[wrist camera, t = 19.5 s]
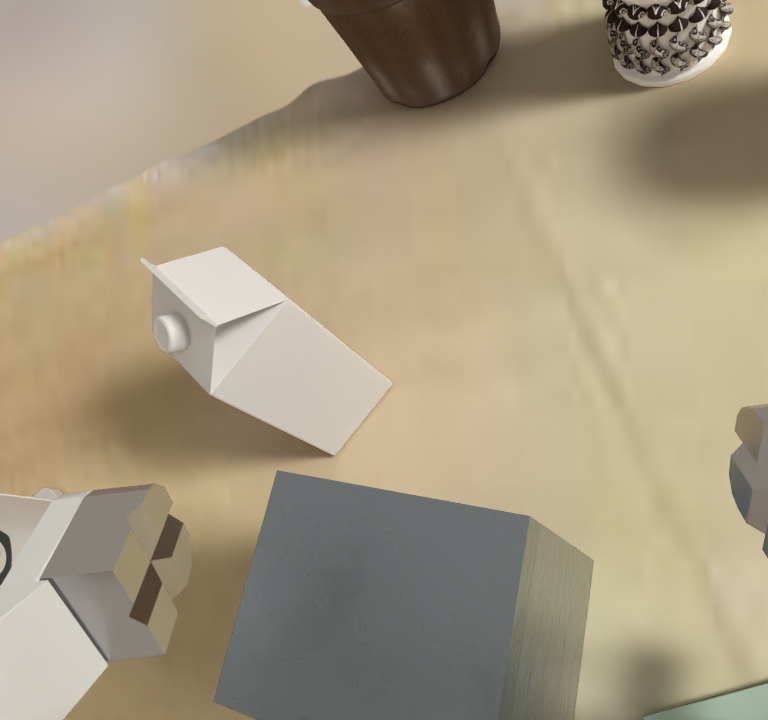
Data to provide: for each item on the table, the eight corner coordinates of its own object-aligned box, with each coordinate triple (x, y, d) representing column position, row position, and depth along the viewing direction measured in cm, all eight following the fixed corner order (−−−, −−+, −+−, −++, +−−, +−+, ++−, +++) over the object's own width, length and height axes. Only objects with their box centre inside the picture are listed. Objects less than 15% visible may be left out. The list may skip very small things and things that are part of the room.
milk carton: (336, 338, 53) (179, 210, 37) (394, 384, 49) (247, 264, 33) (282, 405, 53) (100, 306, 37) (335, 457, 49) (159, 372, 33)
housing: (570, 743, 36) (483, 812, 22) (380, 679, 42) (213, 701, 28) (593, 560, 39) (529, 516, 25) (413, 523, 45) (277, 470, 30)
